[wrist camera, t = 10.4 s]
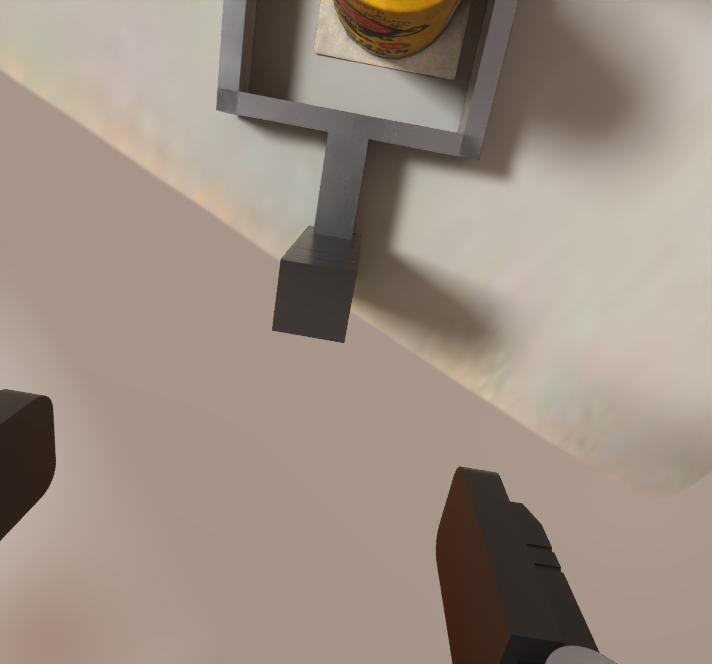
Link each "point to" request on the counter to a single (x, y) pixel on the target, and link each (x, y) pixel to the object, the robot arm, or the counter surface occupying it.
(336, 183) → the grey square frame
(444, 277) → the counter surface
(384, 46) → the condiment
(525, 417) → the counter surface
